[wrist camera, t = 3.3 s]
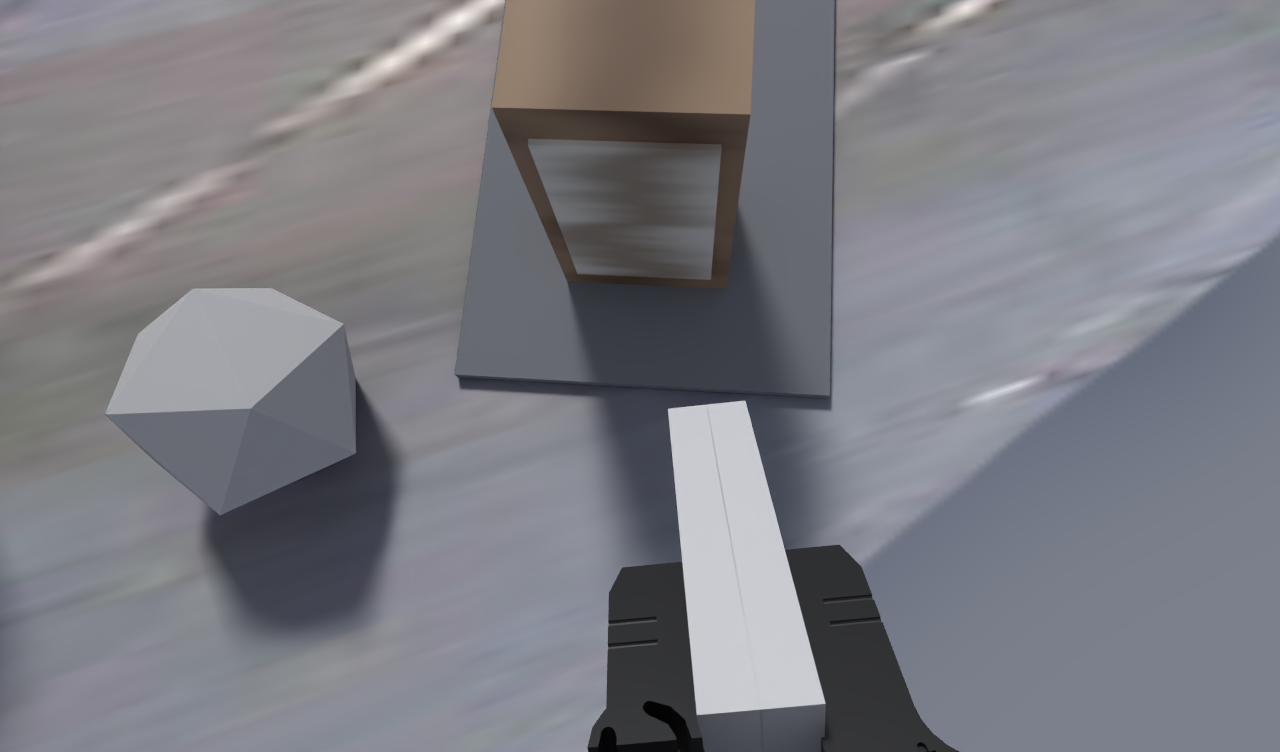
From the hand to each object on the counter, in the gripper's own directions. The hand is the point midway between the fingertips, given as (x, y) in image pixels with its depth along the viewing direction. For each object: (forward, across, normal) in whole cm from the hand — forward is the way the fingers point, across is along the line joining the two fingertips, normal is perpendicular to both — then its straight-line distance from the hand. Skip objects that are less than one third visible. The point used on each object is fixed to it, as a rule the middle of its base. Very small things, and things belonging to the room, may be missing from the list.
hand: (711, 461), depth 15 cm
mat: (+24, 0, +1) cm, 24 cm away
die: (+16, -17, -7) cm, 24 cm away
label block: (+20, -1, -2) cm, 20 cm away
